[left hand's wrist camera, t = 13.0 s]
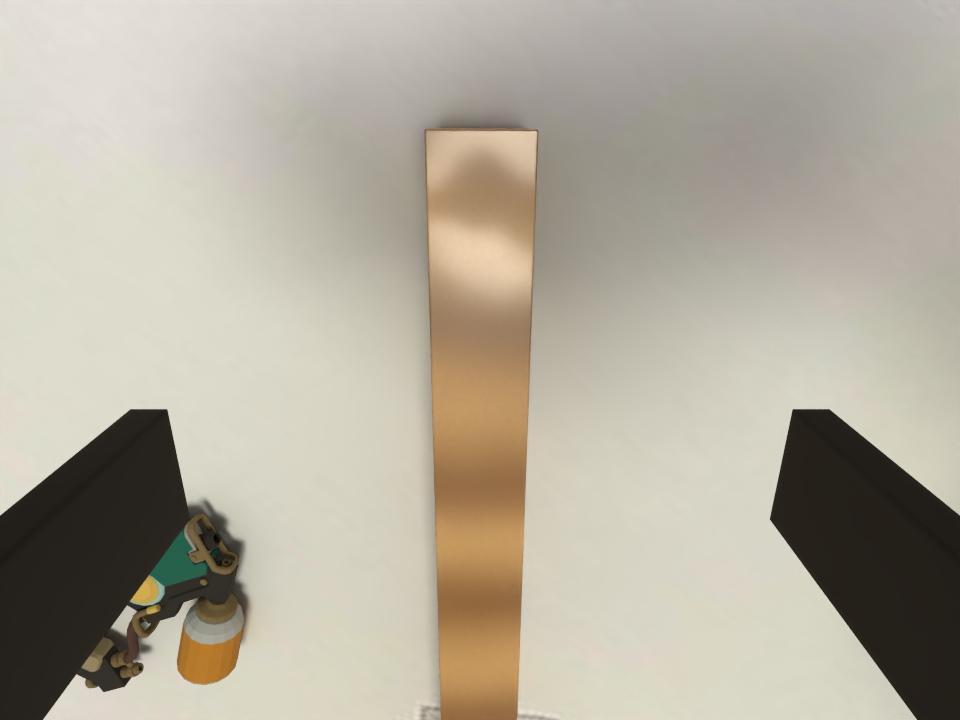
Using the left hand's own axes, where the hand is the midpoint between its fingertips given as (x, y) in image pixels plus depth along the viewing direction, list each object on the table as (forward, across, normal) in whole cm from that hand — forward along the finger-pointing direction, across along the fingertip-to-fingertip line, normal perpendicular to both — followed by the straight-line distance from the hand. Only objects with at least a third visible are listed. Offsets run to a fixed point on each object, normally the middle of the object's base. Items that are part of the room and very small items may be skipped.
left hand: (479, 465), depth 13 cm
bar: (+26, 0, -30) cm, 39 cm away
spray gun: (+26, -25, -26) cm, 45 cm away
